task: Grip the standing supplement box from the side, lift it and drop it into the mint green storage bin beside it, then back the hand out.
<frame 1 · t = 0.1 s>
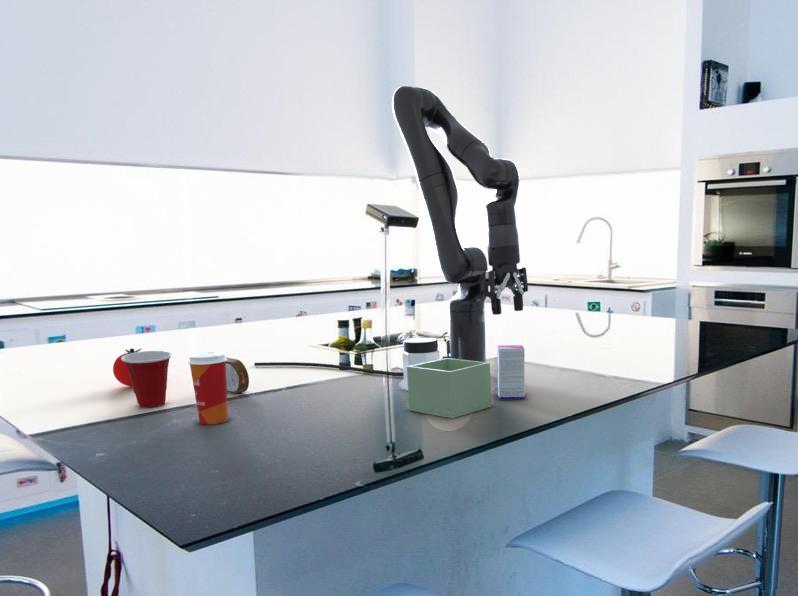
hand: (508, 312, 183), 17 cm above the table, tool pointing down, fingers open, 8 cm apart
jar: (422, 390, 181), on the table
supplement box: (511, 397, 169), on the table
plastic cup: (152, 405, 176), on the table
mint green storage bin: (450, 408, 161), on the table
tomato: (136, 386, 200), on the table
paper cup: (213, 422, 158), on the table
tin: (229, 392, 188), on the table
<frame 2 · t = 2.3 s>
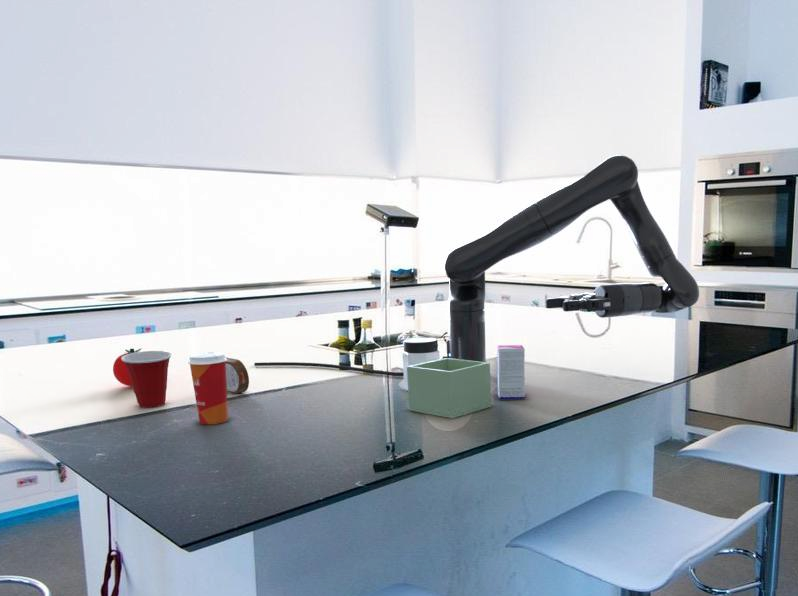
hand: (554, 305, 169), 20 cm above the table, tool horizontal, fingers open, 8 cm apart
nothing on the table moved.
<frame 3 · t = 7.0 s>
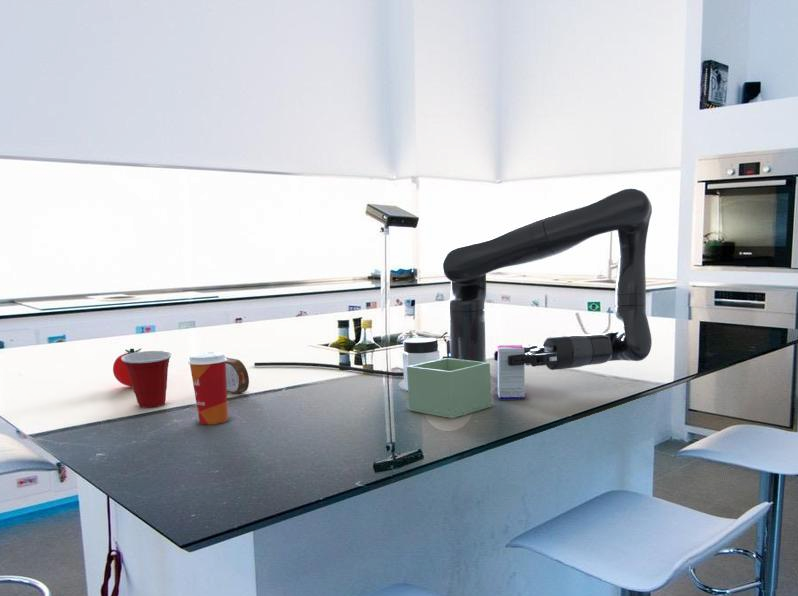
hand: (501, 358, 167), 9 cm above the table, tool horizontal, fingers closed on supplement box, 7 cm apart
supplement box: (511, 397, 169), on the table, touching gripper
everything else where it was.
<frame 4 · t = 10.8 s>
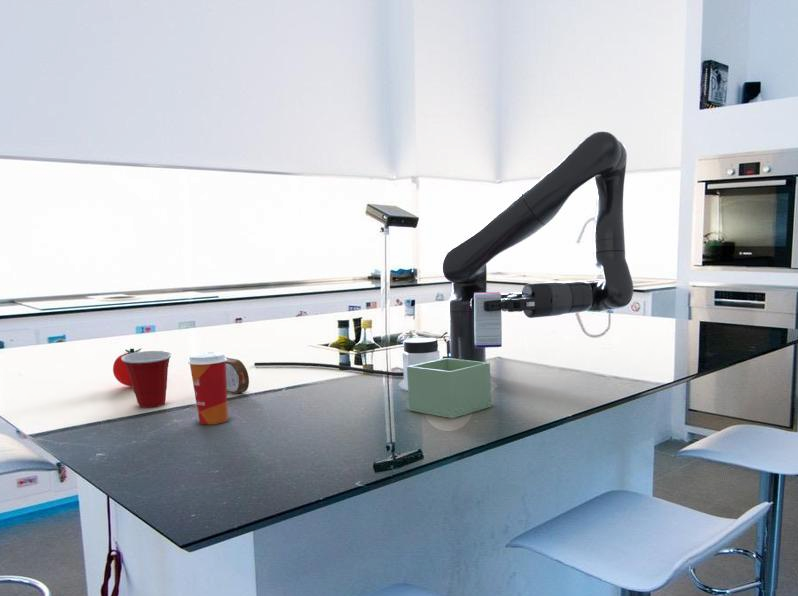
hand: (477, 305, 161), 21 cm above the table, tool horizontal, fingers closed on supplement box, 7 cm apart
supplement box: (488, 346, 164), point 12 cm above the table, touching gripper
everything else where it was.
when the fingers open (17 cm above the table, at t = 14.5 s): supplement box drops 7 cm, resting on mint green storage bin.
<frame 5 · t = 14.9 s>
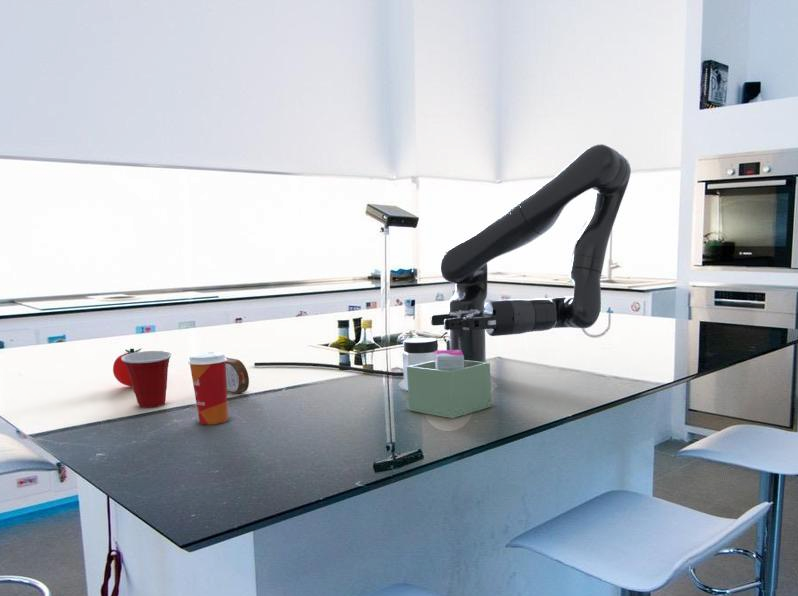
hand: (437, 322, 156), 19 cm above the table, tool horizontal, fingers open, 8 cm apart
supplement box: (450, 405, 161), point 1 cm above the table, touching mint green storage bin
everything else where it was.
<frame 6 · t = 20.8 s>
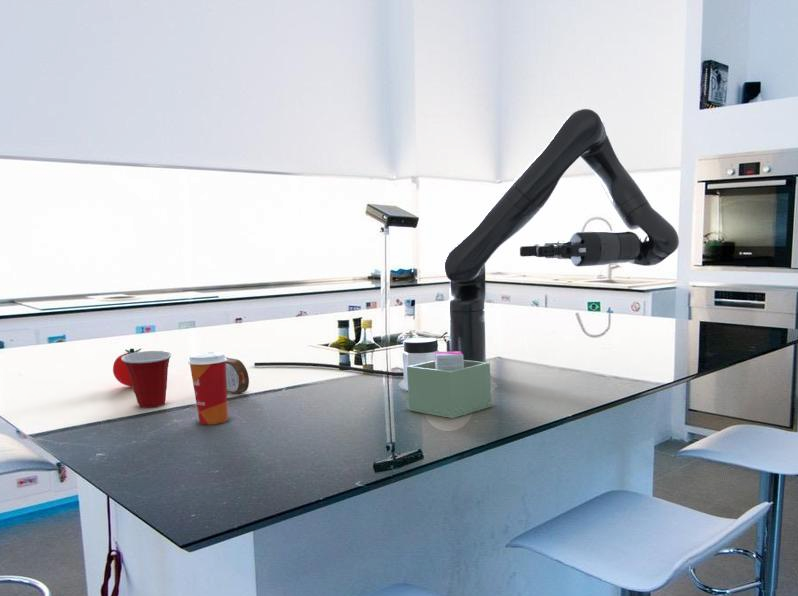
hand: (528, 251, 163), 32 cm above the table, tool horizontal, fingers open, 8 cm apart
at the end: supplement box inside the target area in the mint green storage bin (0.1 cm from its centre), point 0.3 cm above the mint green storage bin's base; the gripper is holding nothing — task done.
